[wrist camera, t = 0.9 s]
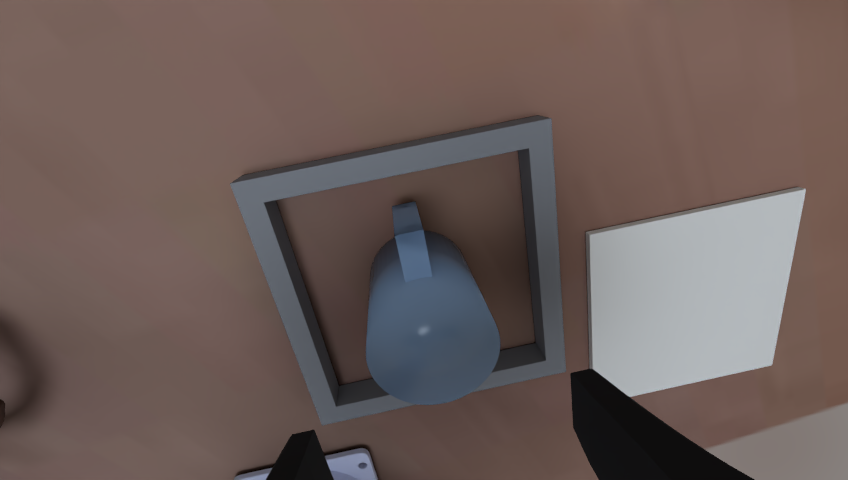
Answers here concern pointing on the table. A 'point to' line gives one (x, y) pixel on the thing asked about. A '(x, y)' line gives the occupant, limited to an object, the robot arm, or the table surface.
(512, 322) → the table surface
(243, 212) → the grey square frame
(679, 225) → the mat
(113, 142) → the table surface
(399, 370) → the blue-grey mug
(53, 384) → the table surface
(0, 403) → the brown animal figurine
